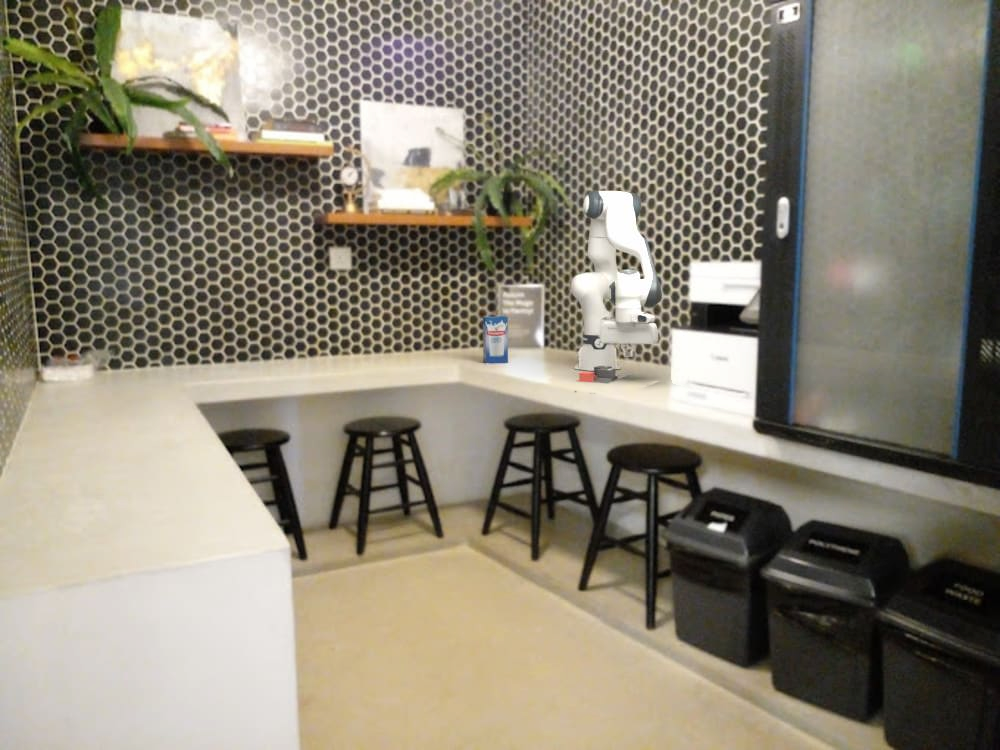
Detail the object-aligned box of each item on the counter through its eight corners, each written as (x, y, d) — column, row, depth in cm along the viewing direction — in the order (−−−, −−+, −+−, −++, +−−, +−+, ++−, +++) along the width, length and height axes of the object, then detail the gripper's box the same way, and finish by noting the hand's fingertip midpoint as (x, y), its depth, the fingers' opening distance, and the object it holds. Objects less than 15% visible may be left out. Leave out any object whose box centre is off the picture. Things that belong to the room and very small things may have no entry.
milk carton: (485, 363, 326) (485, 317, 323) (483, 361, 332) (482, 316, 329) (508, 362, 328) (507, 317, 325) (505, 361, 334) (504, 316, 331)
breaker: (602, 377, 269) (602, 367, 269) (615, 378, 267) (615, 368, 266) (597, 379, 265) (597, 369, 264) (610, 380, 263) (610, 370, 262)
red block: (583, 379, 266) (583, 371, 265) (594, 380, 264) (594, 372, 264) (579, 381, 262) (579, 372, 262) (589, 382, 260) (589, 373, 260)
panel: (598, 377, 282) (598, 363, 282) (628, 379, 277) (628, 365, 276) (575, 385, 263) (575, 370, 263) (607, 387, 258) (607, 372, 257)
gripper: (596, 317, 261) (597, 357, 263) (654, 317, 252) (654, 358, 253) (603, 316, 267) (603, 355, 268) (659, 316, 257) (659, 356, 259)
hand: (628, 356), depth 261 cm, fingers closed
